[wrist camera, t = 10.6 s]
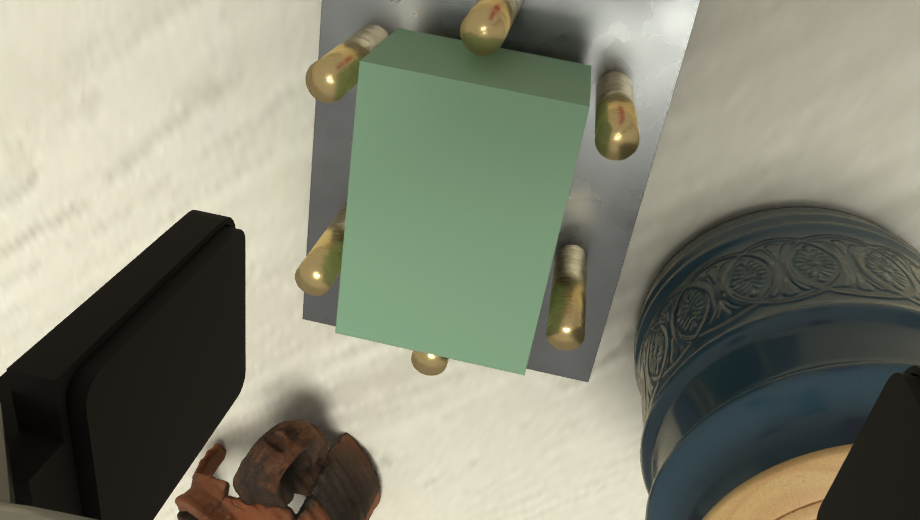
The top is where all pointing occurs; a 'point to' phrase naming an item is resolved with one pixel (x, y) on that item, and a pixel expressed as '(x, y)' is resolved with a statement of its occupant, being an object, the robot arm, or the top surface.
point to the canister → (769, 360)
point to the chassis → (599, 159)
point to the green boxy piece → (457, 196)
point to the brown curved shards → (286, 480)
